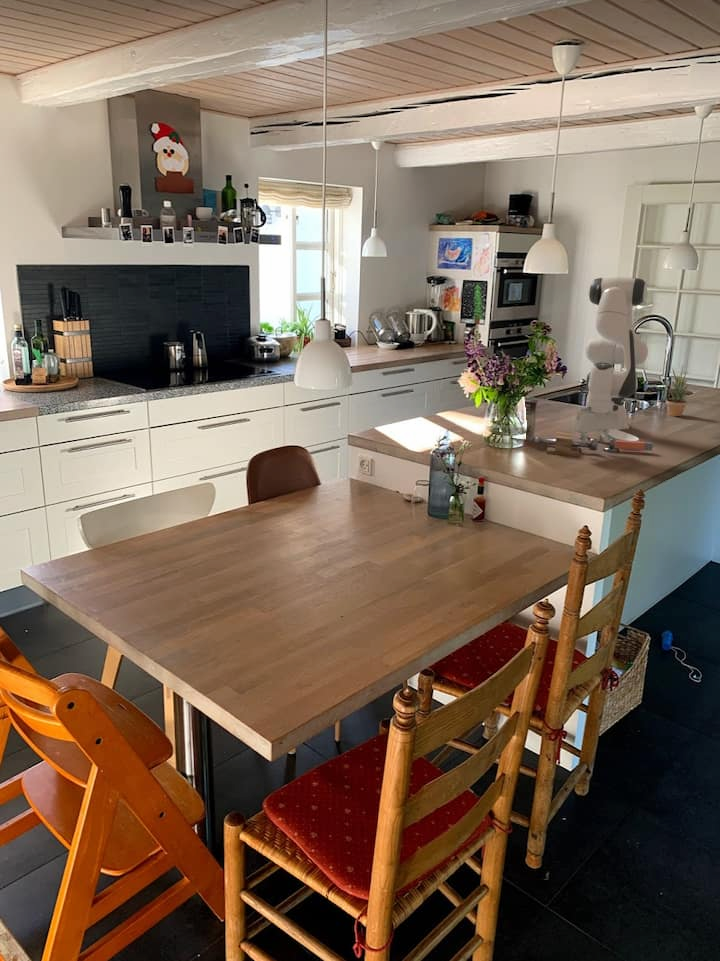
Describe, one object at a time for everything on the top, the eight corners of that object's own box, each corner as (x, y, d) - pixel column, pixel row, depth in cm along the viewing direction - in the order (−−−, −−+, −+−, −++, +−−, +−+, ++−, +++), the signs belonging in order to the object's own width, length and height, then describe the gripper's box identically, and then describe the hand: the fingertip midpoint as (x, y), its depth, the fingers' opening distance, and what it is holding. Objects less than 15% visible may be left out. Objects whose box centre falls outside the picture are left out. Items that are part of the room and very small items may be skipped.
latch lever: (615, 448, 295) (616, 441, 295) (615, 447, 297) (615, 440, 296) (651, 450, 293) (652, 443, 292) (650, 449, 295) (651, 442, 294)
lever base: (603, 447, 300) (604, 436, 299) (618, 449, 299) (620, 438, 298) (603, 451, 295) (604, 440, 294) (619, 452, 293) (620, 441, 292)
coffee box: (509, 438, 311) (513, 400, 306) (512, 435, 316) (515, 397, 312) (532, 441, 308) (536, 402, 303) (534, 437, 314) (538, 399, 309)
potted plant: (660, 414, 364) (667, 363, 357) (669, 412, 370) (677, 362, 363) (680, 418, 357) (688, 366, 350) (689, 416, 363) (697, 364, 356)
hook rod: (534, 443, 299) (535, 433, 298) (597, 448, 292) (598, 438, 291) (533, 444, 296) (534, 434, 295) (597, 450, 290) (598, 440, 288)
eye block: (548, 444, 303) (550, 429, 301) (579, 447, 300) (581, 432, 298) (546, 453, 290) (548, 437, 288) (578, 456, 287) (580, 440, 285)
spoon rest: (642, 445, 307) (644, 428, 305) (632, 450, 298) (634, 433, 296) (585, 435, 321) (587, 419, 318) (575, 440, 312) (577, 423, 310)
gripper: (584, 409, 279) (579, 446, 283) (623, 406, 288) (618, 441, 292) (571, 406, 284) (567, 442, 288) (610, 403, 294) (606, 437, 298)
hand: (593, 441), depth 290 cm, fingers open, 8 cm apart
